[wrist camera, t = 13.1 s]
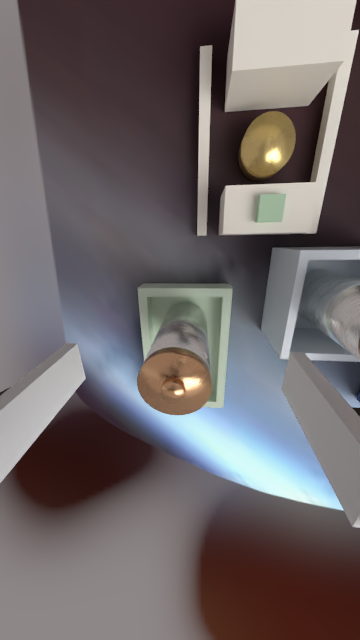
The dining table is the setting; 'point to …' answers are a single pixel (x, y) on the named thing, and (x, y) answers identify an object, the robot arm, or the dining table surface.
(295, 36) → the cradle
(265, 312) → the grey open box
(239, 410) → the dining table surface
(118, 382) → the dining table surface
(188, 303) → the cell
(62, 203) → the dining table surface
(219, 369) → the trough
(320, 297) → the cell
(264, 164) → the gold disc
